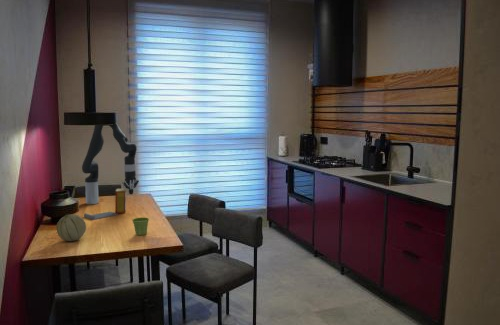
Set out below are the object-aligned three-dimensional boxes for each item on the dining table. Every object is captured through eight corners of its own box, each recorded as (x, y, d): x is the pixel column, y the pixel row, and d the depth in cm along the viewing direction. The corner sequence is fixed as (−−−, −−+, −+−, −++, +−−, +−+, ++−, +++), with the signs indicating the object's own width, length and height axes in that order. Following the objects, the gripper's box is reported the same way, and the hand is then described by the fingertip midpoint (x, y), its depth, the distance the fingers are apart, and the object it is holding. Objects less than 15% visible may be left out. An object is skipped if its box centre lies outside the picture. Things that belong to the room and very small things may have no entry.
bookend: (84, 217, 279) (83, 213, 279) (109, 212, 294) (109, 208, 294) (93, 219, 272) (92, 216, 271) (119, 214, 286) (119, 211, 286)
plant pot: (141, 237, 231) (140, 222, 231) (129, 235, 236) (128, 220, 235) (153, 233, 240) (152, 218, 239) (140, 231, 244) (140, 216, 243)
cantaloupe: (92, 237, 231) (90, 211, 229) (75, 245, 217) (74, 217, 215) (68, 236, 234) (67, 210, 233) (51, 243, 220) (49, 216, 219)
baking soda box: (125, 213, 290) (125, 190, 288) (115, 213, 288) (115, 190, 287) (126, 210, 299) (126, 188, 297) (116, 210, 298) (117, 188, 296)
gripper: (135, 169, 304) (136, 192, 306) (119, 171, 295) (120, 194, 297) (140, 169, 300) (141, 193, 302) (124, 171, 290) (126, 196, 292)
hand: (131, 194), depth 299 cm, fingers closed
